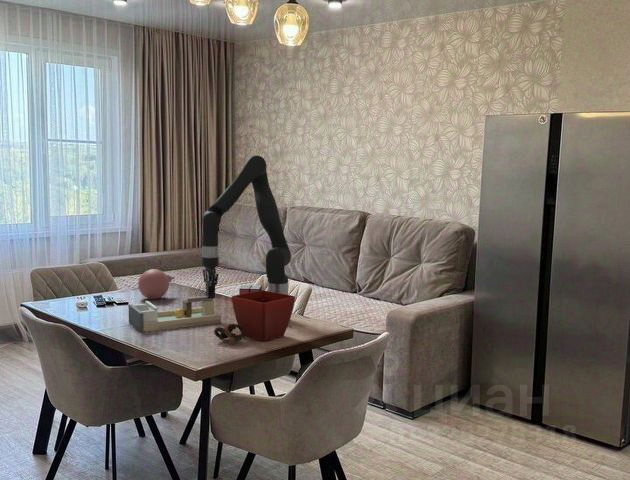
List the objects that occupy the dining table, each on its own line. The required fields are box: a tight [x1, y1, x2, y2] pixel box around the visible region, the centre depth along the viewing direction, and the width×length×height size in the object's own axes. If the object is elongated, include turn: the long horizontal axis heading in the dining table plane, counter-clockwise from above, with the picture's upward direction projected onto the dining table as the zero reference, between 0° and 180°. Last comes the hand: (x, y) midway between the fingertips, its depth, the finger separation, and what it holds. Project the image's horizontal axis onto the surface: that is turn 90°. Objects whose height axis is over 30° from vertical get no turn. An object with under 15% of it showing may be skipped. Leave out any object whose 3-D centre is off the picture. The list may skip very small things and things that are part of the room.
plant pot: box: [231, 289, 296, 342], centre depth 259 cm, size 19×19×17 cm
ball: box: [174, 308, 185, 319], centre depth 280 cm, size 4×4×4 cm
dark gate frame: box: [182, 279, 216, 318], centre depth 284 cm, size 5×14×16 cm, turn 121°
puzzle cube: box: [238, 284, 263, 295], centre depth 312 cm, size 10×10×10 cm
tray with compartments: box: [128, 299, 222, 333], centre depth 279 cm, size 18×36×9 cm, turn 121°
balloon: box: [137, 268, 175, 300], centre depth 327 cm, size 15×20×15 cm
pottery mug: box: [213, 323, 245, 346], centre depth 250 cm, size 12×10×8 cm
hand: (210, 293), depth 286 cm, fingers closed on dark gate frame, 3 cm apart
